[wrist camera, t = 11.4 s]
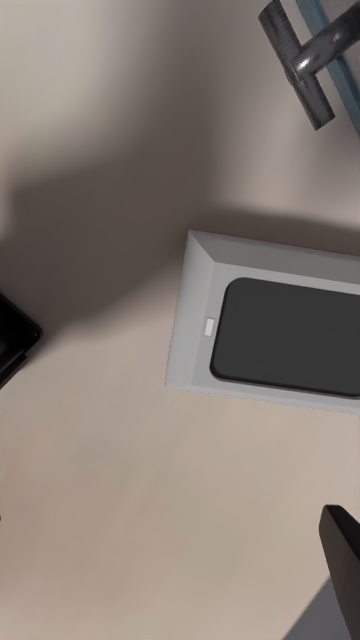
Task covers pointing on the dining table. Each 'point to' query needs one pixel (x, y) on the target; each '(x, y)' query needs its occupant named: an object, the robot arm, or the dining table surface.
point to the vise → (319, 53)
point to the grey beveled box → (267, 323)
